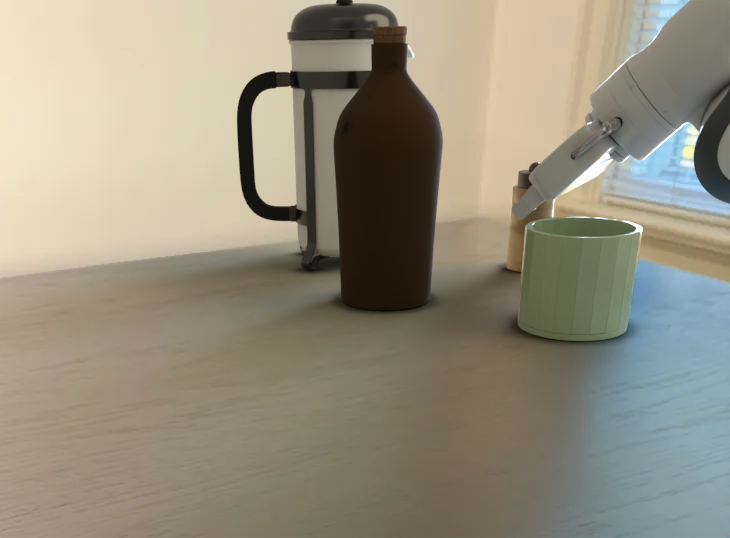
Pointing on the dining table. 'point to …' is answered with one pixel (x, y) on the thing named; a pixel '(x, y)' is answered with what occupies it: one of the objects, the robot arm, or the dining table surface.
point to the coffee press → (314, 114)
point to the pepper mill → (518, 225)
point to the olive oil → (387, 183)
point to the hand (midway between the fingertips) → (529, 207)
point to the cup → (578, 277)
